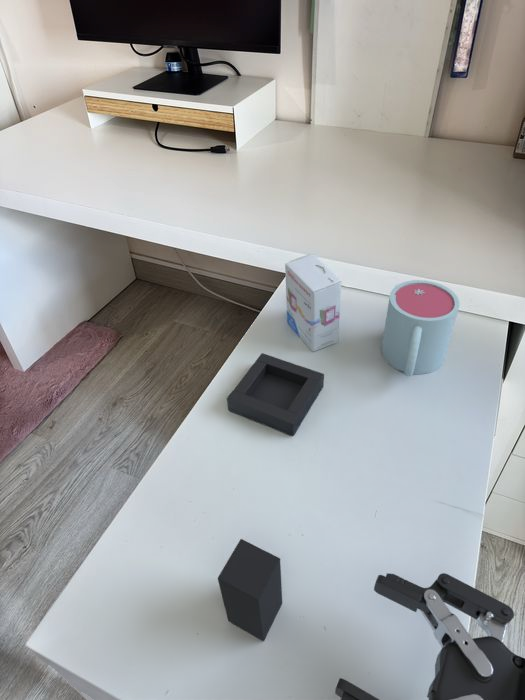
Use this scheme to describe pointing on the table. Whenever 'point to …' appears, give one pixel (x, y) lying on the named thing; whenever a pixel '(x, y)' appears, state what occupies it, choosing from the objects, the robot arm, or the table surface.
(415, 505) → the table surface
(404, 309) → the mug
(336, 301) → the ink box
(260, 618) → the block
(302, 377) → the base pad
